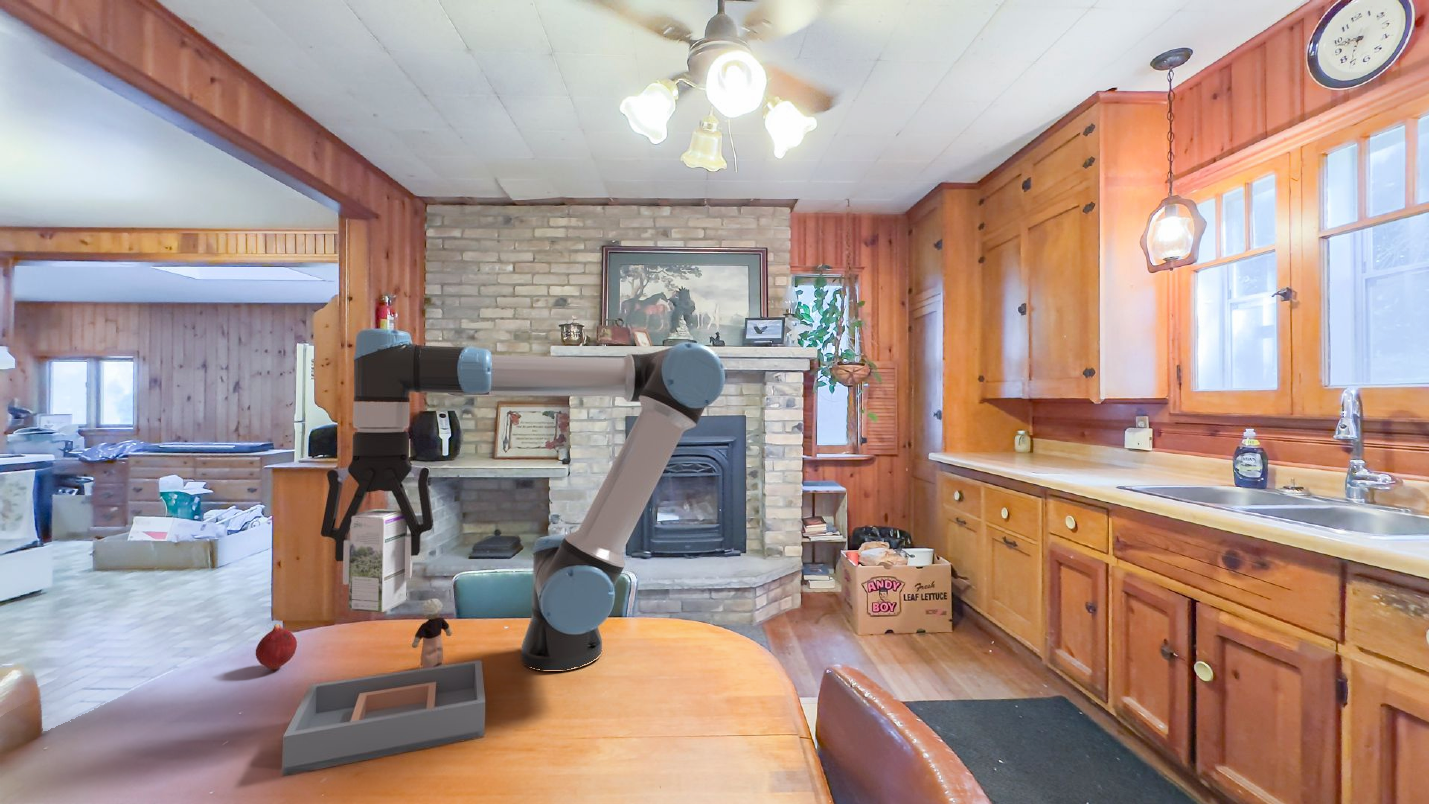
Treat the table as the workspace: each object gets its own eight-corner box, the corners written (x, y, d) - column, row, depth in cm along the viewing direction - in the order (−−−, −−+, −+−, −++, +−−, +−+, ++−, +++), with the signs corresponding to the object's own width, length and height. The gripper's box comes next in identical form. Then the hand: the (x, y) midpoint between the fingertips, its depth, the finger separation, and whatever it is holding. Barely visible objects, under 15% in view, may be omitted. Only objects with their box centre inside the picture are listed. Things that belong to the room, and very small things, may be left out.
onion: (303, 665, 104) (305, 621, 104) (269, 679, 99) (272, 632, 99) (281, 660, 106) (283, 616, 106) (247, 673, 101) (249, 627, 101)
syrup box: (407, 601, 91) (409, 509, 91) (381, 614, 85) (383, 515, 85) (374, 599, 92) (376, 507, 92) (346, 611, 86) (348, 514, 86)
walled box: (480, 689, 97) (481, 660, 97) (484, 736, 83) (485, 701, 83) (309, 718, 87) (310, 684, 87) (281, 776, 73) (283, 736, 73)
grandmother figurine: (436, 660, 108) (439, 592, 108) (454, 663, 107) (456, 594, 107) (404, 678, 100) (406, 605, 101) (422, 681, 99) (425, 607, 100)
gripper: (454, 429, 96) (452, 566, 96) (309, 429, 88) (306, 579, 88) (452, 431, 89) (450, 579, 89) (295, 431, 81) (291, 593, 81)
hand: (378, 579), depth 88 cm, fingers closed on syrup box, 7 cm apart
